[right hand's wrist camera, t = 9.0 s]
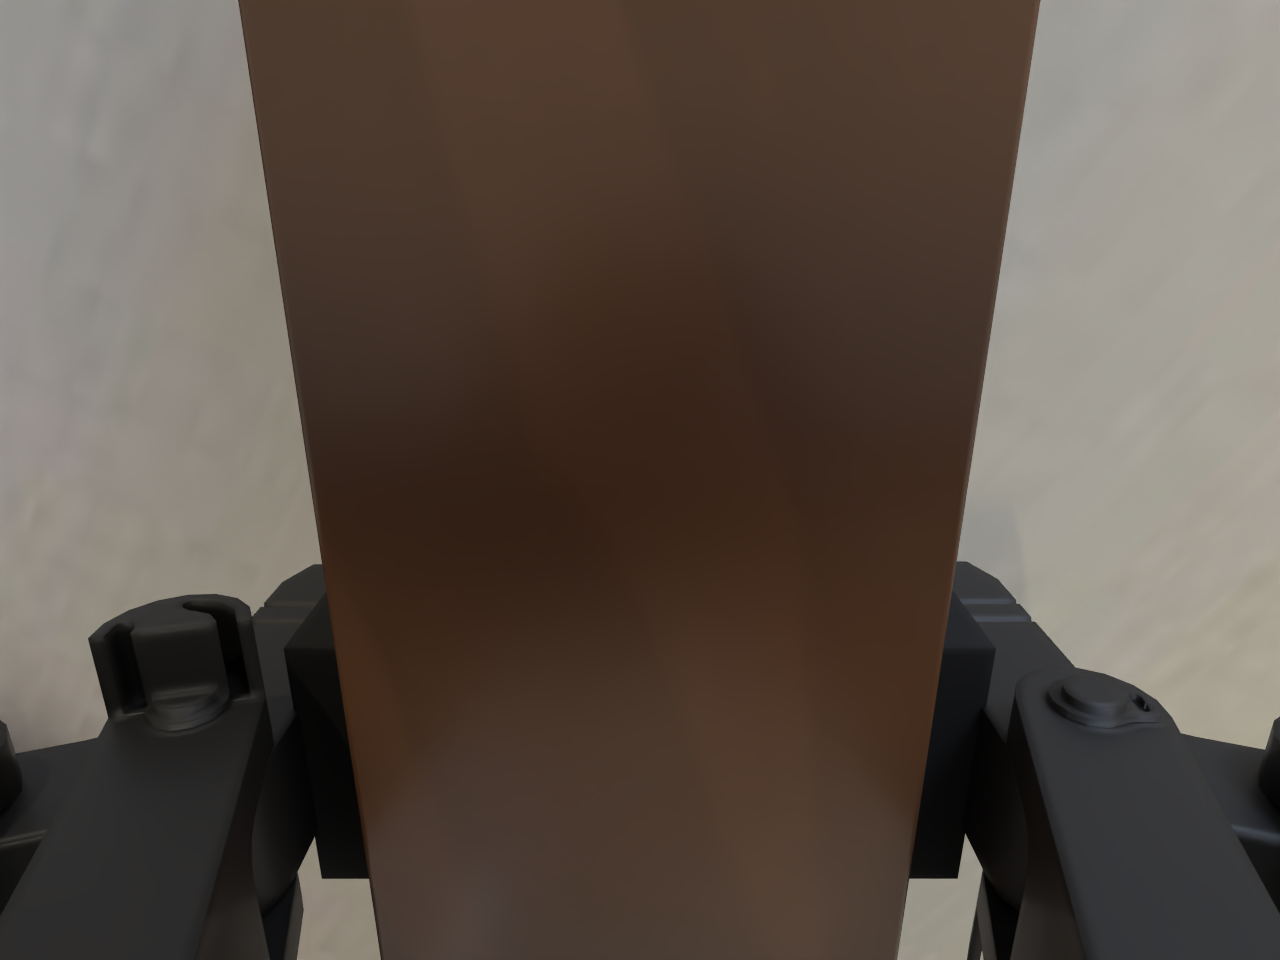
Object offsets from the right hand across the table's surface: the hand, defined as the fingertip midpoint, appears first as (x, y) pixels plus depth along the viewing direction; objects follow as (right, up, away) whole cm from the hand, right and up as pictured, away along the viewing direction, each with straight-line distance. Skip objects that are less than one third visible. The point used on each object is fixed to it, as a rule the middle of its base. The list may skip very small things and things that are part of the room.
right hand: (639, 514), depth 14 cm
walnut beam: (0, +9, -2) cm, 9 cm away
